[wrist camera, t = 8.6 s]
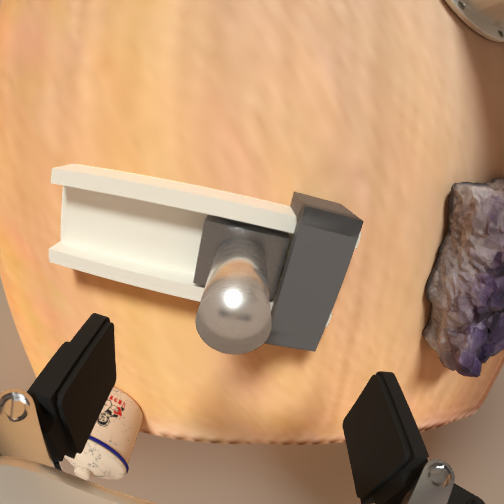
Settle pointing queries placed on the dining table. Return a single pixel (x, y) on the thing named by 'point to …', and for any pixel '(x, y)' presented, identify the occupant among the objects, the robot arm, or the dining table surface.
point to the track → (189, 237)
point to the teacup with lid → (110, 439)
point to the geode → (469, 280)
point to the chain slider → (238, 282)
